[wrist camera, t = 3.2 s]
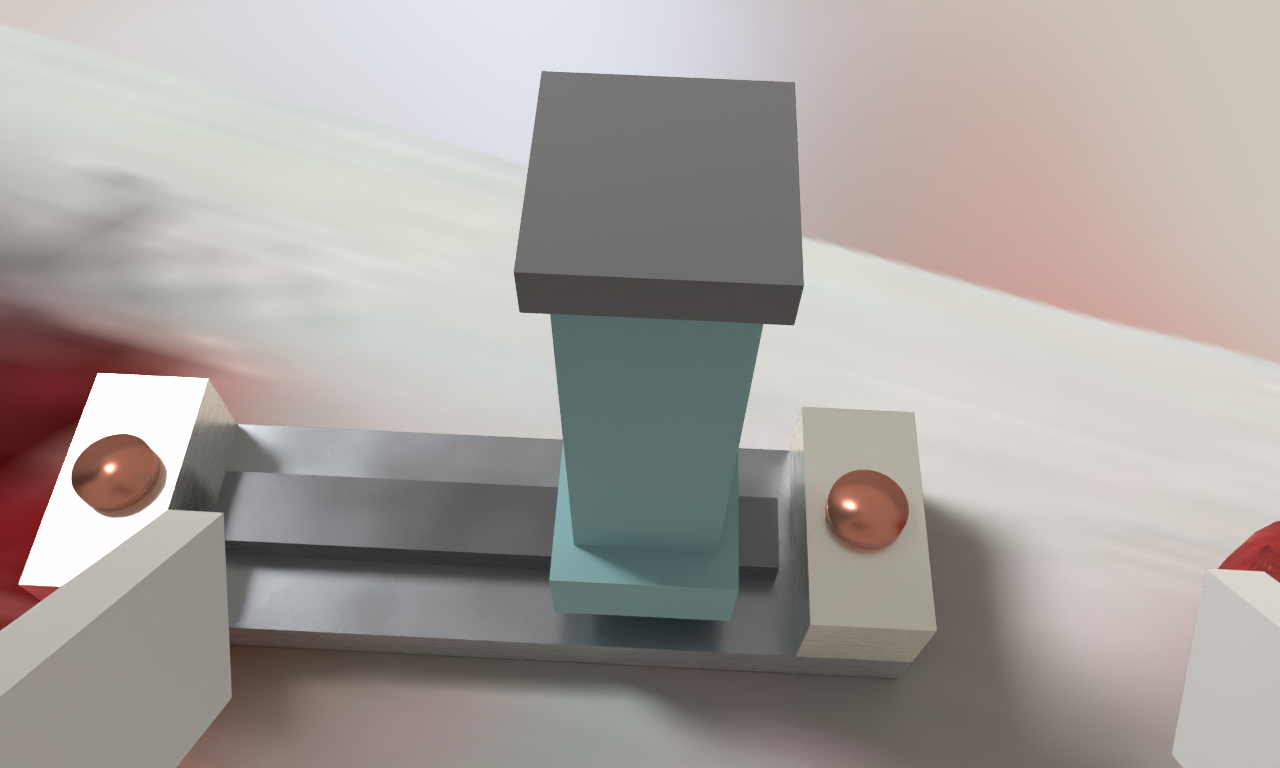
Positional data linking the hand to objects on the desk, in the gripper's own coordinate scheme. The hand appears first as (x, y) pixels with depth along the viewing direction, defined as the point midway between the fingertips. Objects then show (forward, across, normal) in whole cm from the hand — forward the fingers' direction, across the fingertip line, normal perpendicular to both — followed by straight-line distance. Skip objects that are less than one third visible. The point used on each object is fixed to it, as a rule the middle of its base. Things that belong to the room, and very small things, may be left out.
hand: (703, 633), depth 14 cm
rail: (+15, -5, -5) cm, 17 cm away
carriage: (+13, -1, -3) cm, 13 cm away
